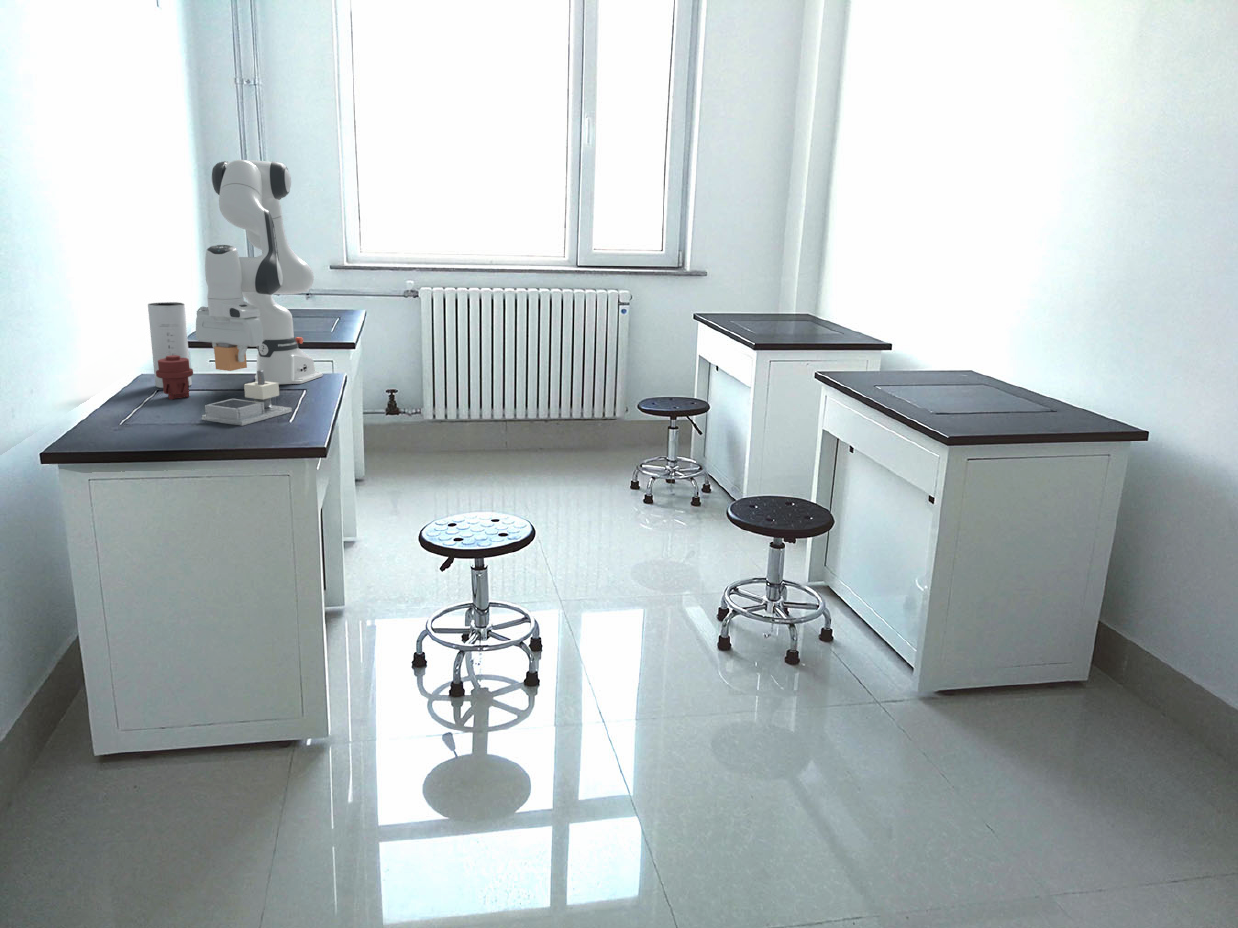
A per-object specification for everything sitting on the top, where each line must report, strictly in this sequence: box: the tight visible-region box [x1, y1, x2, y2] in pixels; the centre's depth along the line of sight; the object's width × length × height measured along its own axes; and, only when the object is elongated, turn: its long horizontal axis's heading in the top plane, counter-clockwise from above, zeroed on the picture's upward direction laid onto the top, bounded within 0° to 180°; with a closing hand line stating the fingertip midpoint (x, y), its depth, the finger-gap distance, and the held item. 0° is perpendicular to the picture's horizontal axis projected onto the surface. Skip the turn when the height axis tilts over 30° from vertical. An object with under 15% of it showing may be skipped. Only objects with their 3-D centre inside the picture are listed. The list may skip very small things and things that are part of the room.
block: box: [213, 343, 248, 372], centre depth 259 cm, size 5×6×7 cm
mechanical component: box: [156, 355, 194, 400], centre depth 286 cm, size 12×10×10 cm
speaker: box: [147, 301, 192, 389], centre depth 300 cm, size 11×10×26 cm
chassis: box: [201, 370, 293, 427], centre depth 266 cm, size 19×14×12 cm
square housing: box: [243, 381, 280, 399], centre depth 271 cm, size 6×6×4 cm
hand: (230, 360), depth 259 cm, fingers closed on block, 5 cm apart
